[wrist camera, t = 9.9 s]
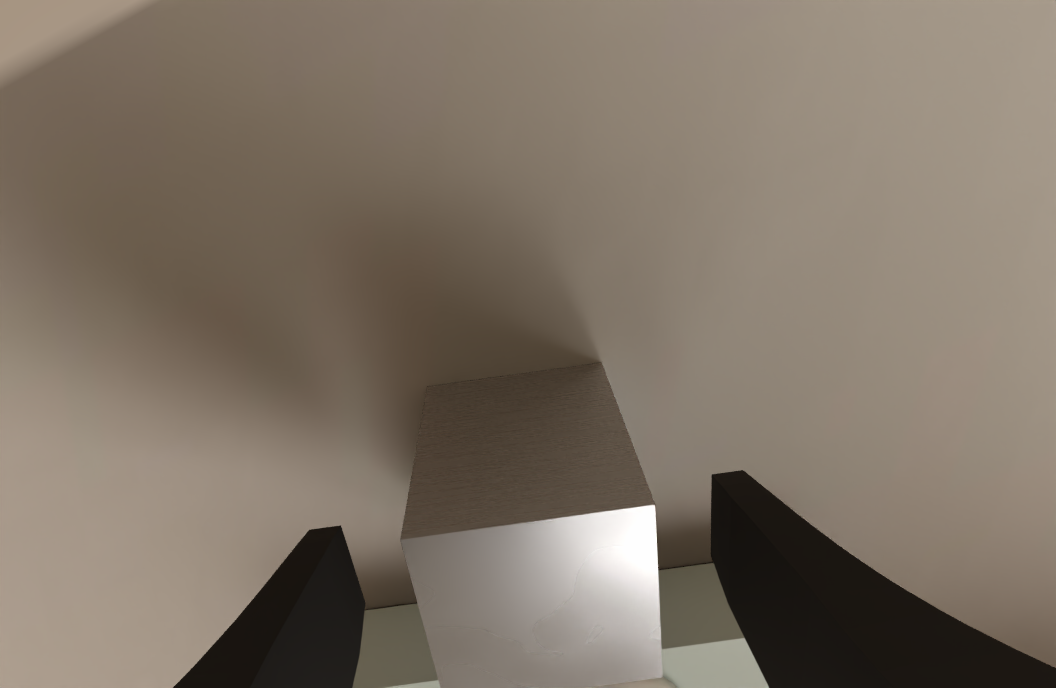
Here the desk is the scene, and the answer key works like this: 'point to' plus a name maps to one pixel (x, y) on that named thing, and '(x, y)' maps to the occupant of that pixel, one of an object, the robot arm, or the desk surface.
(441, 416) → the block
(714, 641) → the scale
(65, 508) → the desk surface
